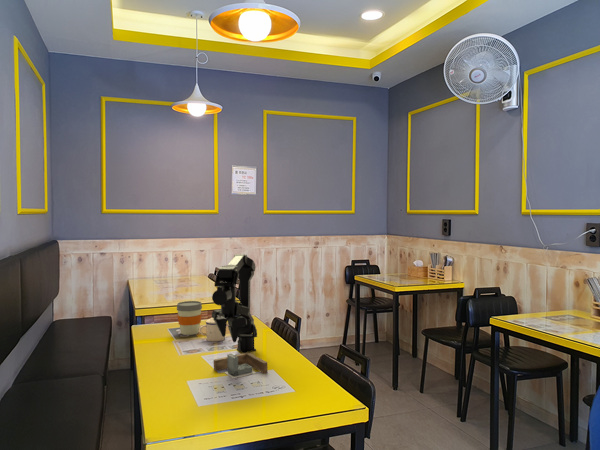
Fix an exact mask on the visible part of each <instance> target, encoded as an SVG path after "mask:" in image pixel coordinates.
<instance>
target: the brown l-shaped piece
mask: <svg viewBox="0 0 600 450" xmlns="http://www.w3.org/2000/svg"><path fill="white" fill-rule="evenodd" d="M234 355H235V356H237V357H238V365H242V364H248V365H250V366H252V369H255V370H257V371H258V372H260V373H262V374H264V375H265V374H268V372H269V371H268V361H265V360H264V359H262V358H260V357H257V356H256V355H254V354H252V353H250V352H246V353H238V354H234ZM226 369H227V370H228V366H227V356H225V357H219V358H215V359H213V370H214V371H215V372H217V371H222V370H226Z"/></svg>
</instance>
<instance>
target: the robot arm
mask: <svg viewBox="0 0 600 450" xmlns="http://www.w3.org/2000/svg"><path fill="white" fill-rule="evenodd" d="M255 271H256V263H255V262H254V260H253V259H252V258H250V257H249V256H248V255H247V254H245V253H243V254H242V253H238V254H237V253H236V254H234V255H233V258H232V259H231V260H230V262H229V263H228V264H225V265H222V266H220V267H219V268H218V270H217V271H216V276H215V280H214V287H216V290H215V291H214V292H213V293H212V295H211V298H212V299H211V300H212V302H213V303H214V304H215V305H217V306H220V309H214V310H212V311H211V318H214V319H213V320H214V321H215V323H216V325H217V327H218V328H219V331H220V333H221V335H222V336H223V337H225V338H226V334H227V329H228V331H229V334H230V337H231V341H232V342H233V343H236V342H237V348H236V350H237V351H239V352H241V354H243V353H250V352H255V351H257V348H255V338H257V337H258V330H257V328H256V324H255V319H254V317H253V316H252V314H251V280H252V279H253V277H254V276H255ZM238 281H239V301H236V300H237V298H236V285H238ZM227 324H228V325H227ZM237 339H238V340H237Z"/></svg>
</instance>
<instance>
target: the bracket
mask: <svg viewBox="0 0 600 450" xmlns="http://www.w3.org/2000/svg"><path fill="white" fill-rule="evenodd" d="M235 355H236V354H233V353H229V354H227V355H226V357H227V366H228V368H227V372H228V373H229V374H230V375H232V376H233V377H234V376H238V375H243V374H247V373H251V372H252V371H253V367H252V366H250V365H248V364H242V365H238V357H237V356H235Z"/></svg>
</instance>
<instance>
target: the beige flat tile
mask: <svg viewBox="0 0 600 450" xmlns="http://www.w3.org/2000/svg"><path fill="white" fill-rule="evenodd" d="M223 374H226V375H227V376H229V377H230V378H232V379H233V378H234V379H238V378H241V377H247V376H251V375H254V374H257V371H256V372H255V370H252V372H251V373H247V374H243V375H238V376H234V377H233V376H232V375H230V374H229V373H228V371H225V372H223ZM237 377H238V378H237Z"/></svg>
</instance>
